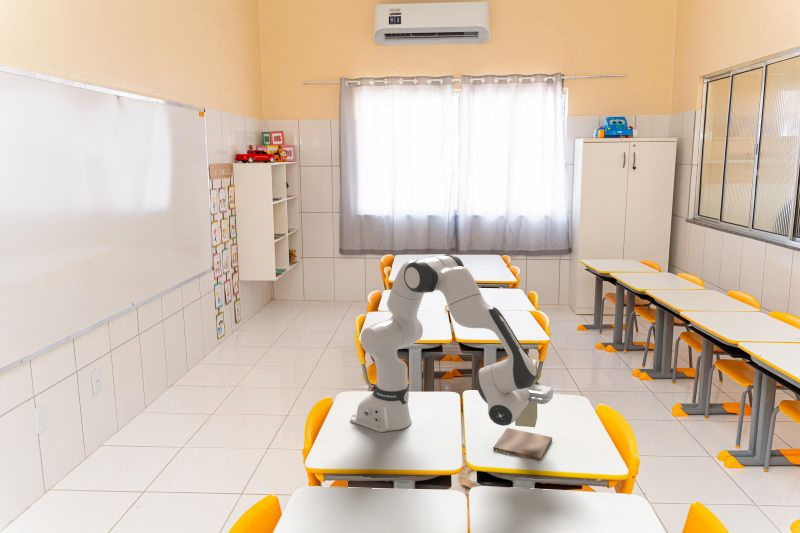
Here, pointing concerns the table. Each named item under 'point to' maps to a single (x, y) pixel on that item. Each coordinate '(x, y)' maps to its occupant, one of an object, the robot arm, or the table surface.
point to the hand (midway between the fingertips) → (526, 382)
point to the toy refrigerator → (529, 410)
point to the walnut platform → (523, 444)
